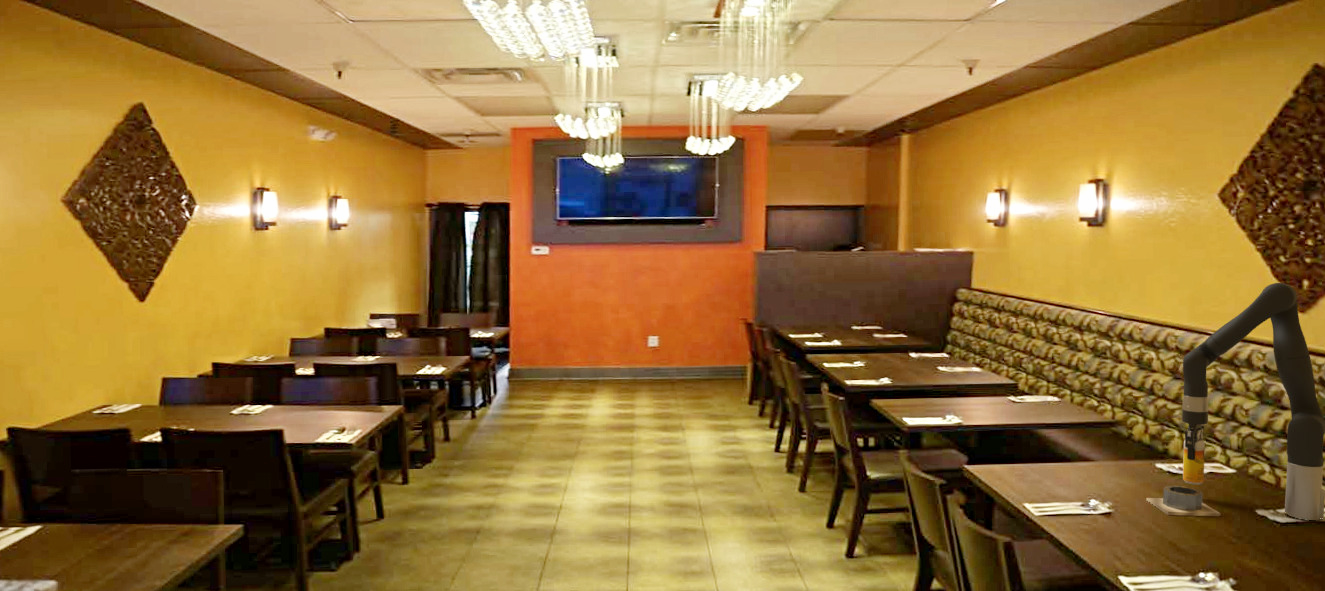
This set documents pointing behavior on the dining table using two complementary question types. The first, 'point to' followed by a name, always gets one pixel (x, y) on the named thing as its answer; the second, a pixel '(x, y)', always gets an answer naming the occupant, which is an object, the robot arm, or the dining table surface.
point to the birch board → (1172, 511)
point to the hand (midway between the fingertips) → (1193, 457)
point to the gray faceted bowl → (1182, 498)
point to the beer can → (1194, 464)
